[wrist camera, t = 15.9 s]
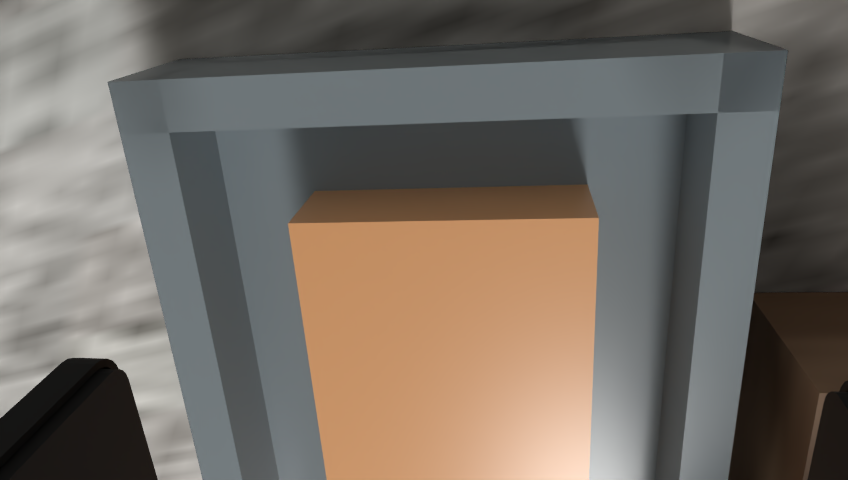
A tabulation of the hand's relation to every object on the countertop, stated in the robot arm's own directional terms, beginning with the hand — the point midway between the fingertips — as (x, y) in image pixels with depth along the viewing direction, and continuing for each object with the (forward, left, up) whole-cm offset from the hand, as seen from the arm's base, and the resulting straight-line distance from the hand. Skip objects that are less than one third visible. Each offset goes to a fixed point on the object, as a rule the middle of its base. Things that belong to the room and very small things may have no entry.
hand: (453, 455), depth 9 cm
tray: (+6, -1, -8) cm, 10 cm away
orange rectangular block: (+6, -1, -7) cm, 9 cm away
